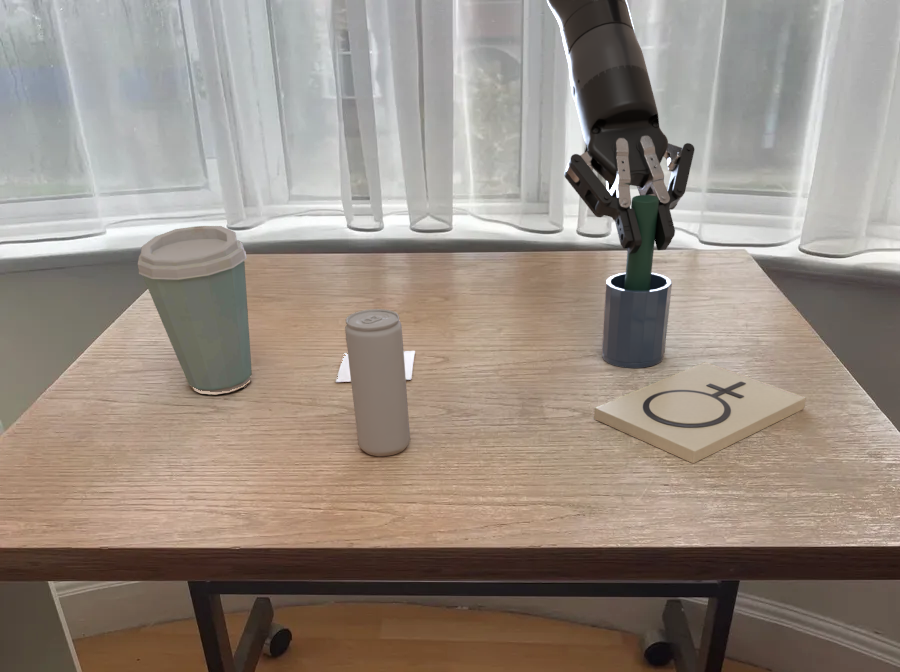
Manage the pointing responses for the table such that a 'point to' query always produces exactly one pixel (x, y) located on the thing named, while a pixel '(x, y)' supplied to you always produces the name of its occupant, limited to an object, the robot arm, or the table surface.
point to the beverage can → (378, 381)
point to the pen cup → (635, 322)
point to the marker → (643, 258)
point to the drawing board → (699, 410)
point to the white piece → (345, 370)
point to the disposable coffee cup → (202, 302)
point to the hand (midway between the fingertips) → (650, 246)
